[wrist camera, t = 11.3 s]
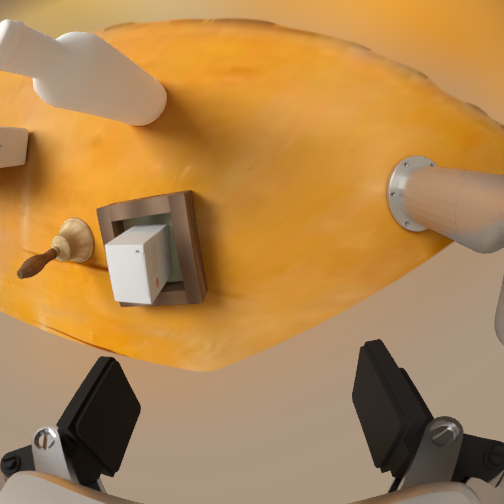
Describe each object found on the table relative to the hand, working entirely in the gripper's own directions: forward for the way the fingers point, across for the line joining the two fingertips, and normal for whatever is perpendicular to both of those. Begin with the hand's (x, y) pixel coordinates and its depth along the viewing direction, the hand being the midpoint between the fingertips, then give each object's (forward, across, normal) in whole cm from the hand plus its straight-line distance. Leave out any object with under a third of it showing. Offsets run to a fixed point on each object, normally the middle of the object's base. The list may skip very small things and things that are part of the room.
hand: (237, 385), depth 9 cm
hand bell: (+33, +31, 0) cm, 45 cm away
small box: (+32, +15, +3) cm, 35 cm away
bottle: (+32, +14, -20) cm, 41 cm away
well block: (+32, +15, +3) cm, 36 cm away
